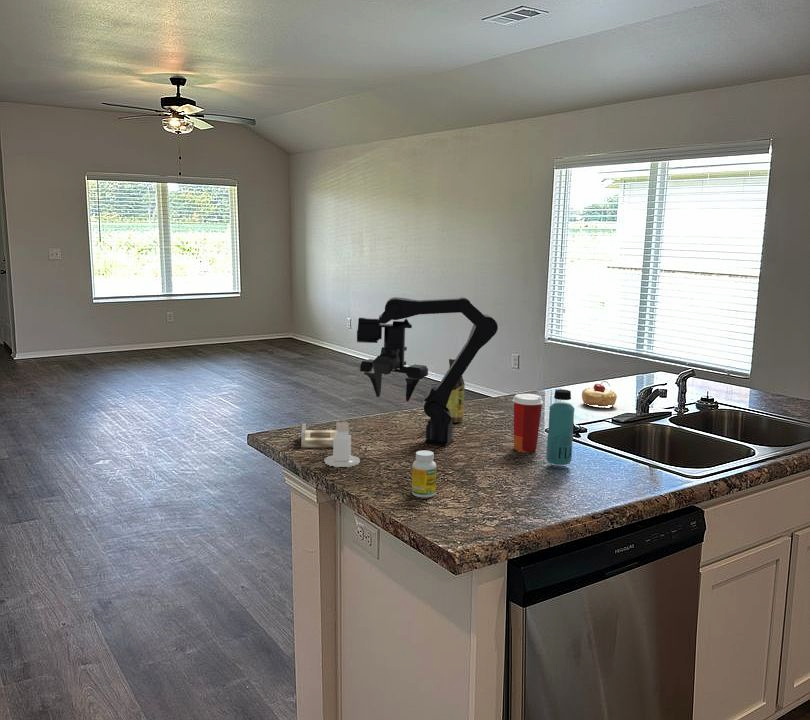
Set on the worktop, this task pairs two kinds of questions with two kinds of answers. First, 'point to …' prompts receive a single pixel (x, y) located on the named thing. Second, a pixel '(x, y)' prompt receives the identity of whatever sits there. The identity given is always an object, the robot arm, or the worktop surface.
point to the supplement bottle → (424, 474)
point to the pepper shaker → (342, 443)
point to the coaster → (352, 462)
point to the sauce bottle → (456, 399)
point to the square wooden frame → (317, 437)
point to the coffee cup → (526, 421)
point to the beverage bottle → (560, 429)
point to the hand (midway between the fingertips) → (392, 399)
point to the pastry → (599, 396)
